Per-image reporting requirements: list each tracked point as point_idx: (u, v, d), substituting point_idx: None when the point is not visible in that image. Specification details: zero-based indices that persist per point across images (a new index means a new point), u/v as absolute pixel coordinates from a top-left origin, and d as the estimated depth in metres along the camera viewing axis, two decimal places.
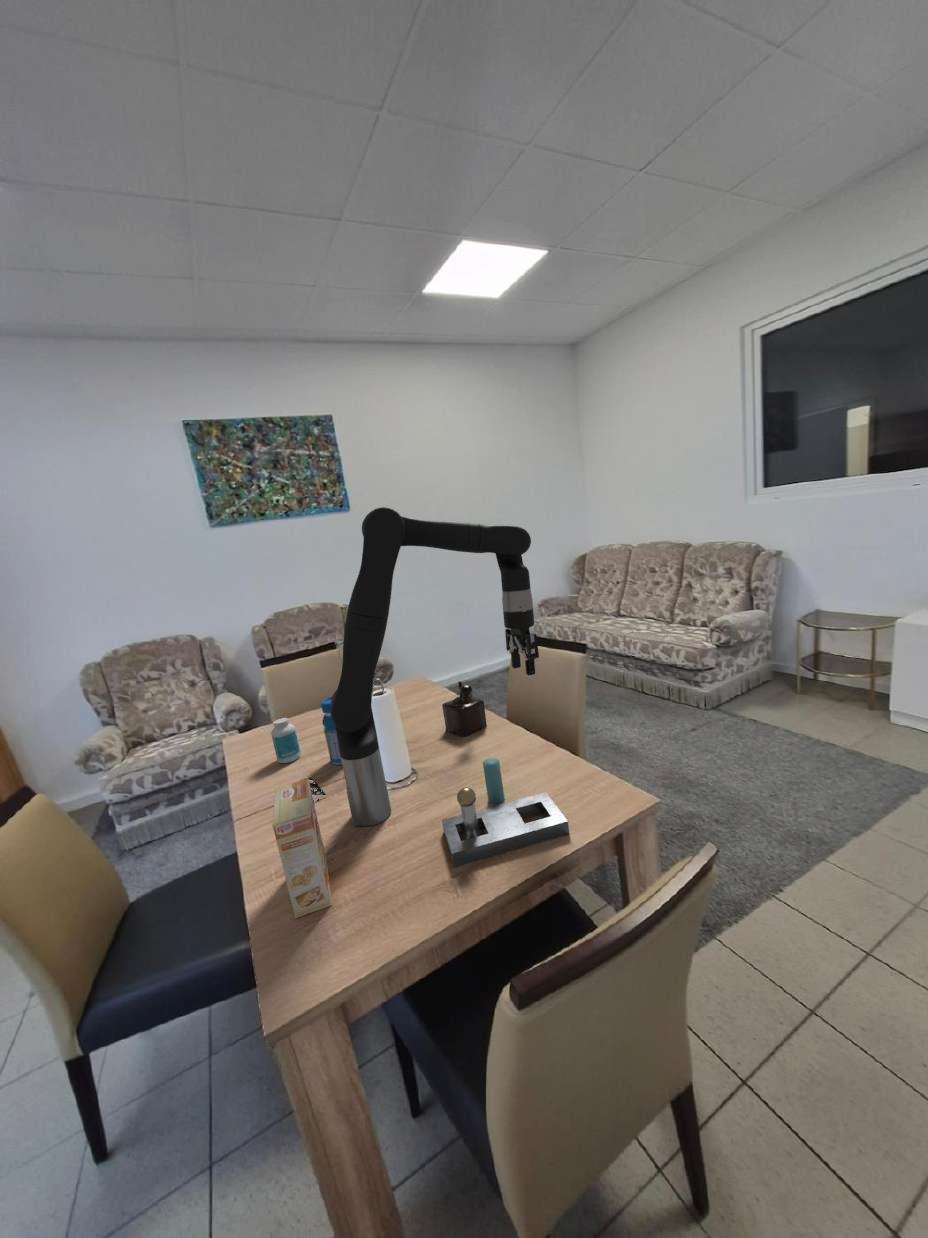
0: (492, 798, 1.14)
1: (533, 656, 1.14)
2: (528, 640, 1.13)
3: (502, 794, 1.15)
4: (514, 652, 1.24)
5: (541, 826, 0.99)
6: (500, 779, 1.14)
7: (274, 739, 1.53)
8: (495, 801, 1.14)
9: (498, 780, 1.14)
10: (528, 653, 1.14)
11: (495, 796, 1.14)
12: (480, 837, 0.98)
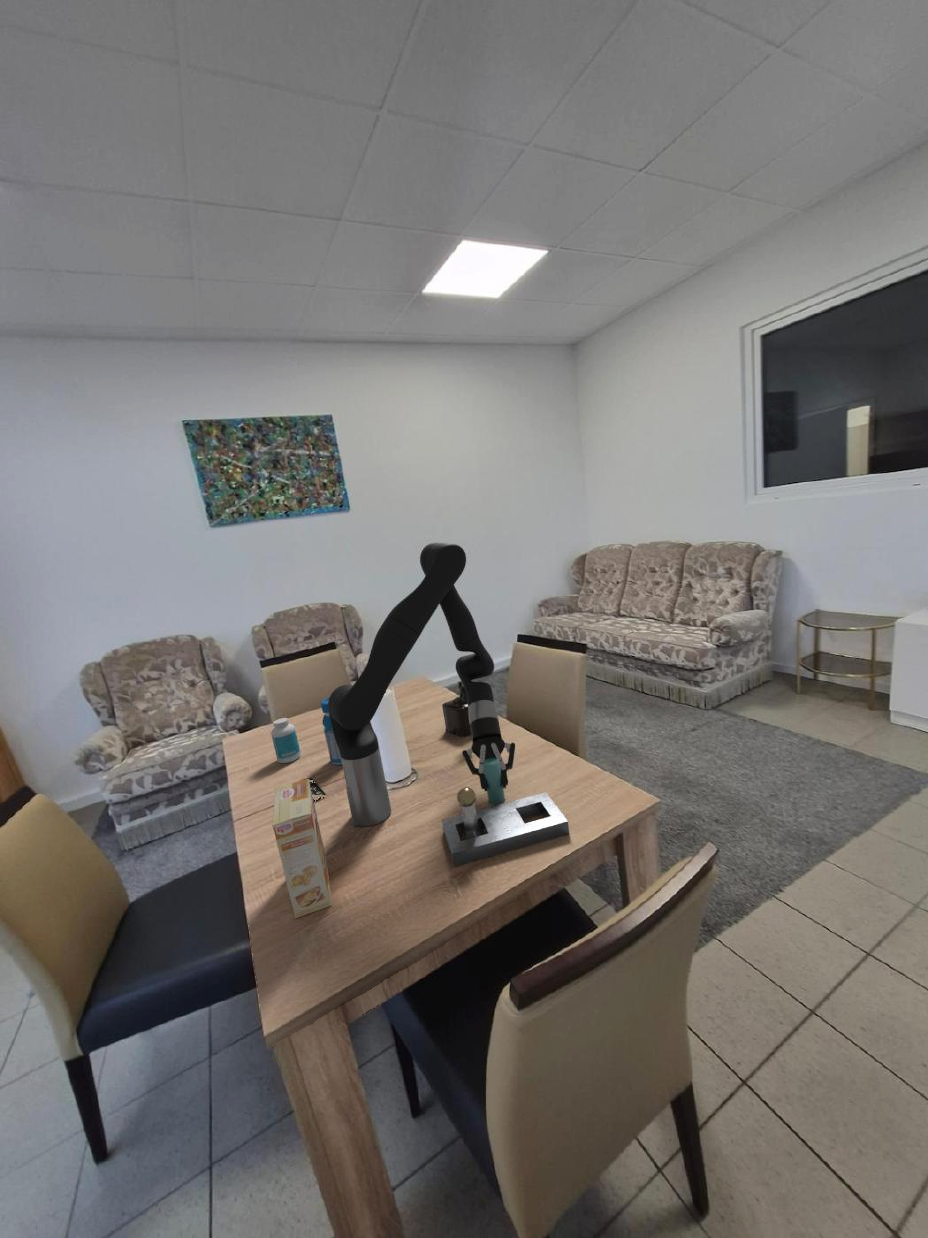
0: (492, 798, 1.14)
1: (512, 764, 1.17)
2: (514, 748, 1.18)
3: (502, 794, 1.15)
4: (483, 771, 1.16)
5: (541, 826, 0.99)
6: (500, 779, 1.14)
7: (274, 739, 1.53)
8: (495, 800, 1.14)
9: (498, 780, 1.14)
10: (510, 760, 1.16)
11: (495, 796, 1.14)
12: (480, 837, 0.98)
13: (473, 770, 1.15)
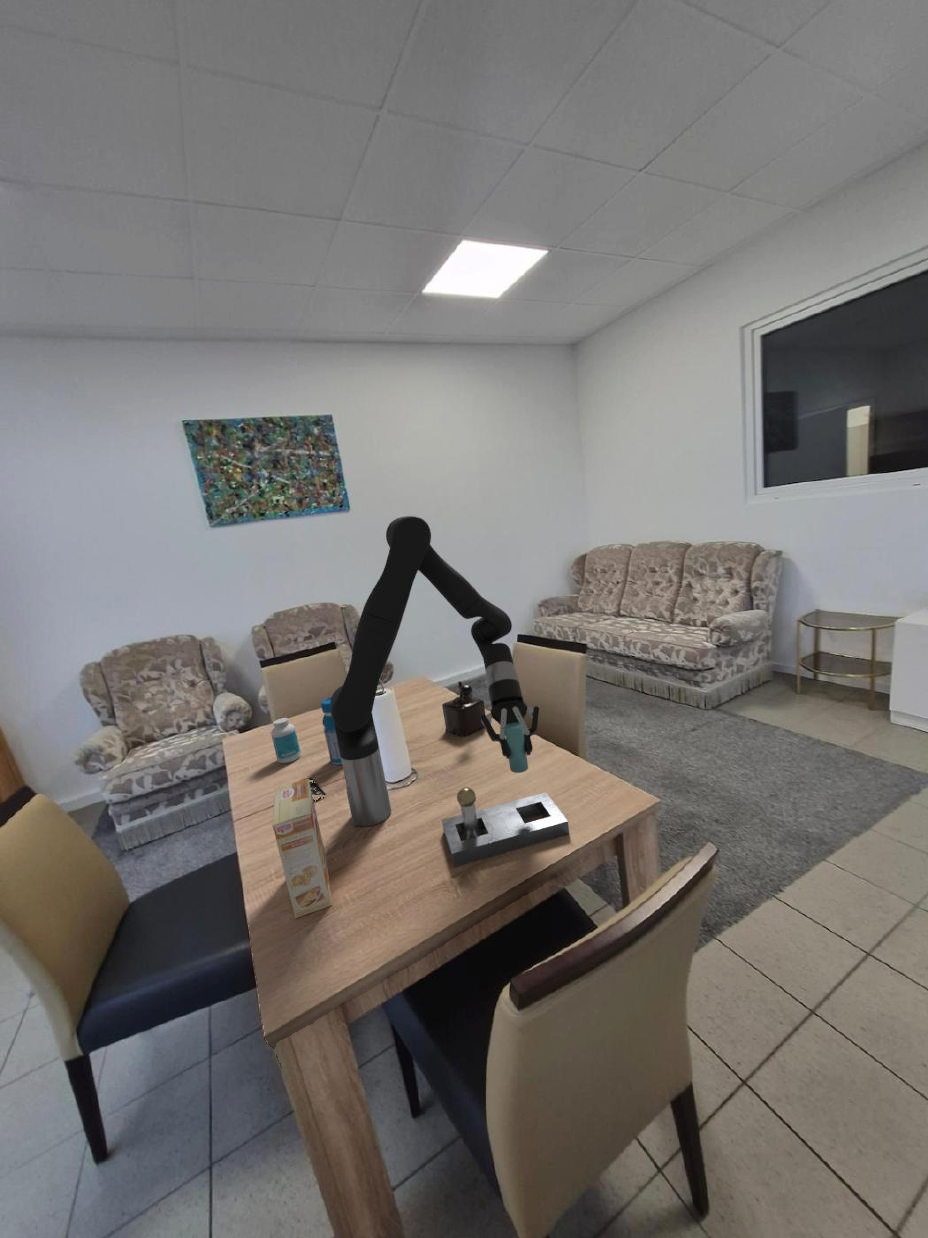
0: (515, 766, 1.04)
1: None
2: (538, 712, 1.07)
3: (526, 761, 1.05)
4: None
5: (541, 826, 0.99)
6: (524, 745, 1.04)
7: (274, 739, 1.53)
8: (518, 769, 1.04)
9: (522, 746, 1.03)
10: (534, 724, 1.06)
11: (518, 763, 1.04)
12: (480, 837, 0.98)
13: (494, 736, 1.05)
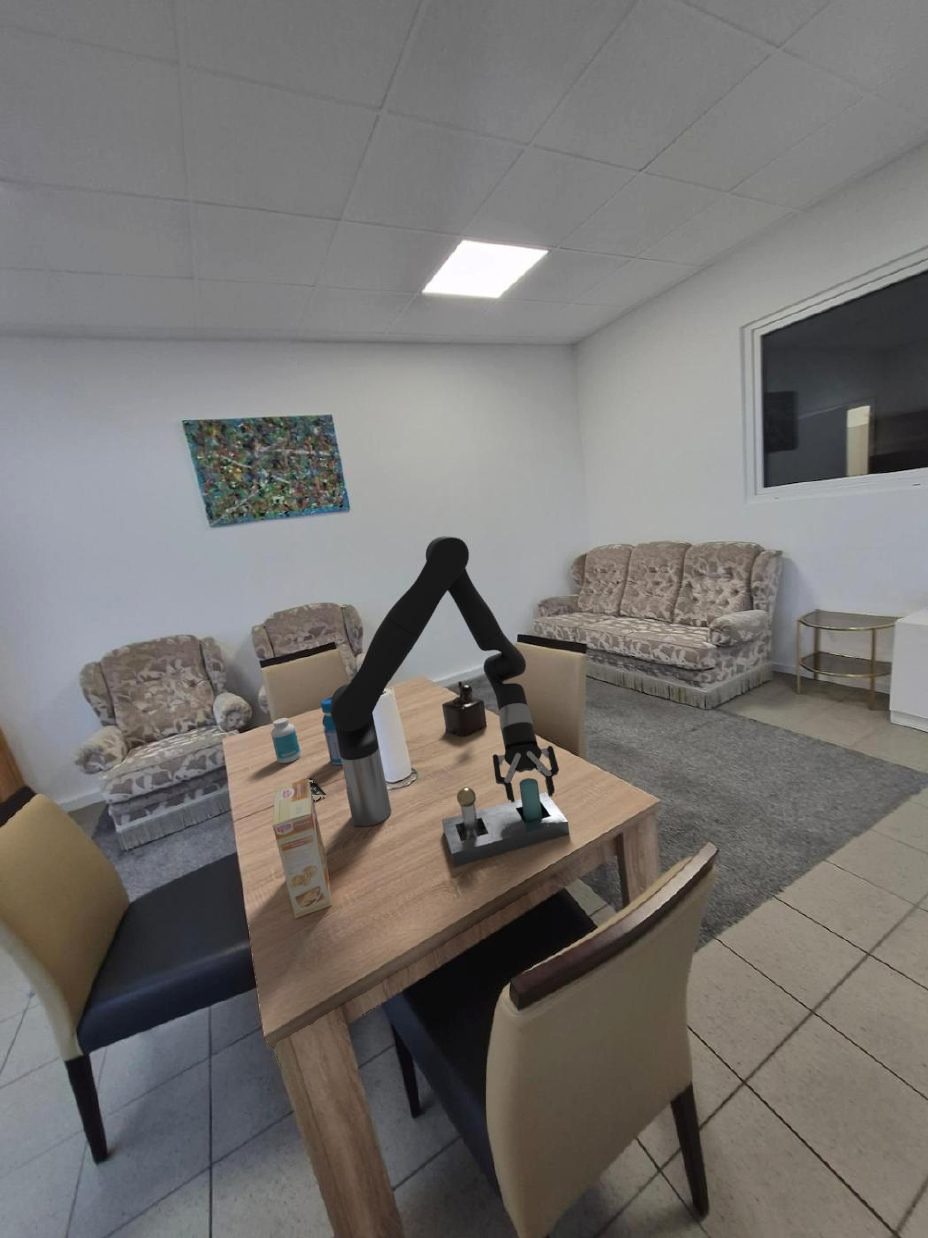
0: None
1: None
2: (553, 751, 1.07)
3: None
4: (509, 781, 1.04)
5: (541, 826, 0.99)
6: (539, 802, 1.03)
7: (274, 739, 1.53)
8: None
9: (537, 804, 1.02)
10: (555, 765, 1.05)
11: None
12: (480, 837, 0.98)
13: (498, 779, 1.04)
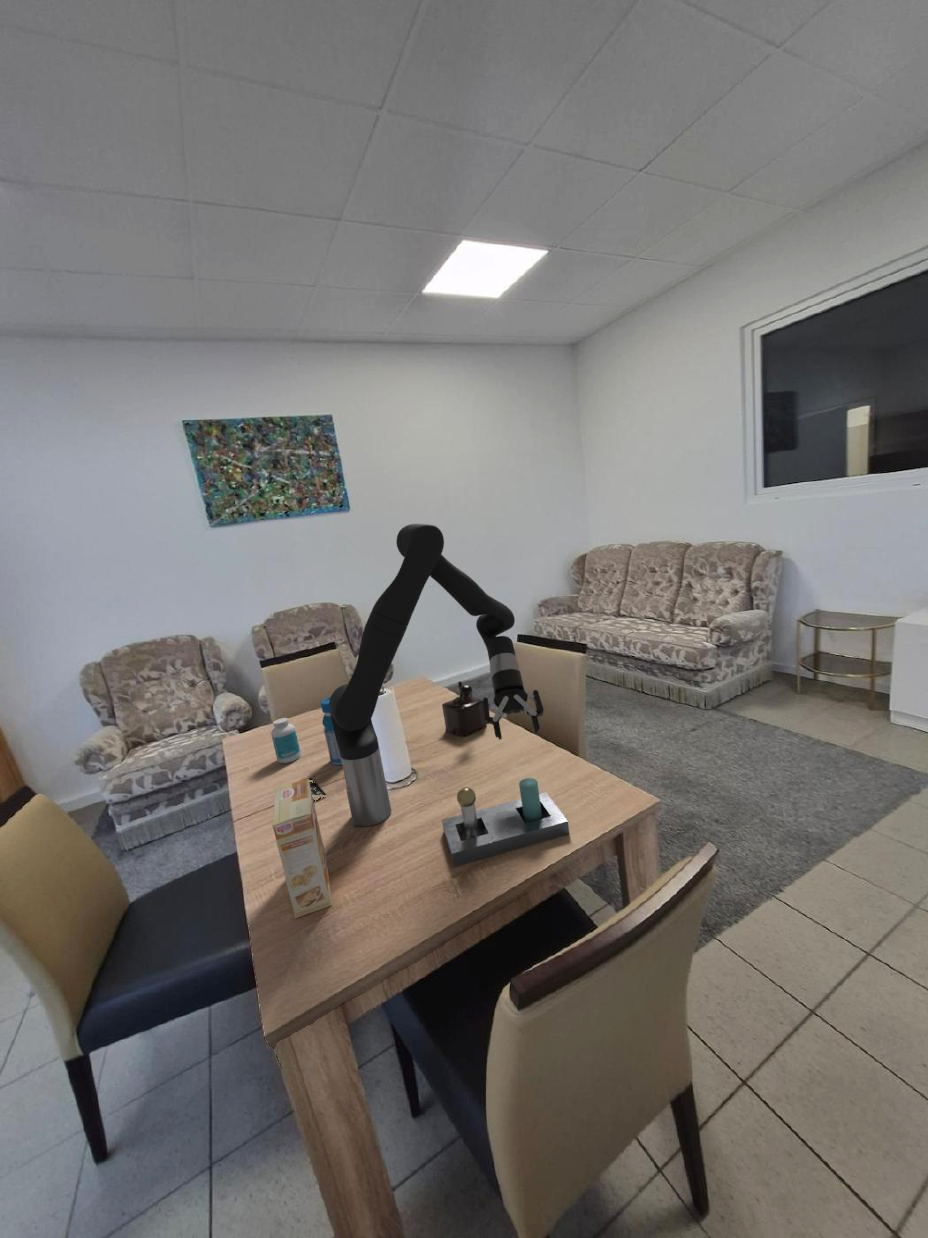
0: None
1: None
2: (538, 694, 1.16)
3: (541, 818, 1.04)
4: (497, 721, 1.14)
5: (541, 826, 0.99)
6: (539, 802, 1.03)
7: (274, 739, 1.53)
8: None
9: (537, 804, 1.02)
10: (540, 706, 1.15)
11: None
12: (480, 837, 0.98)
13: (487, 718, 1.14)
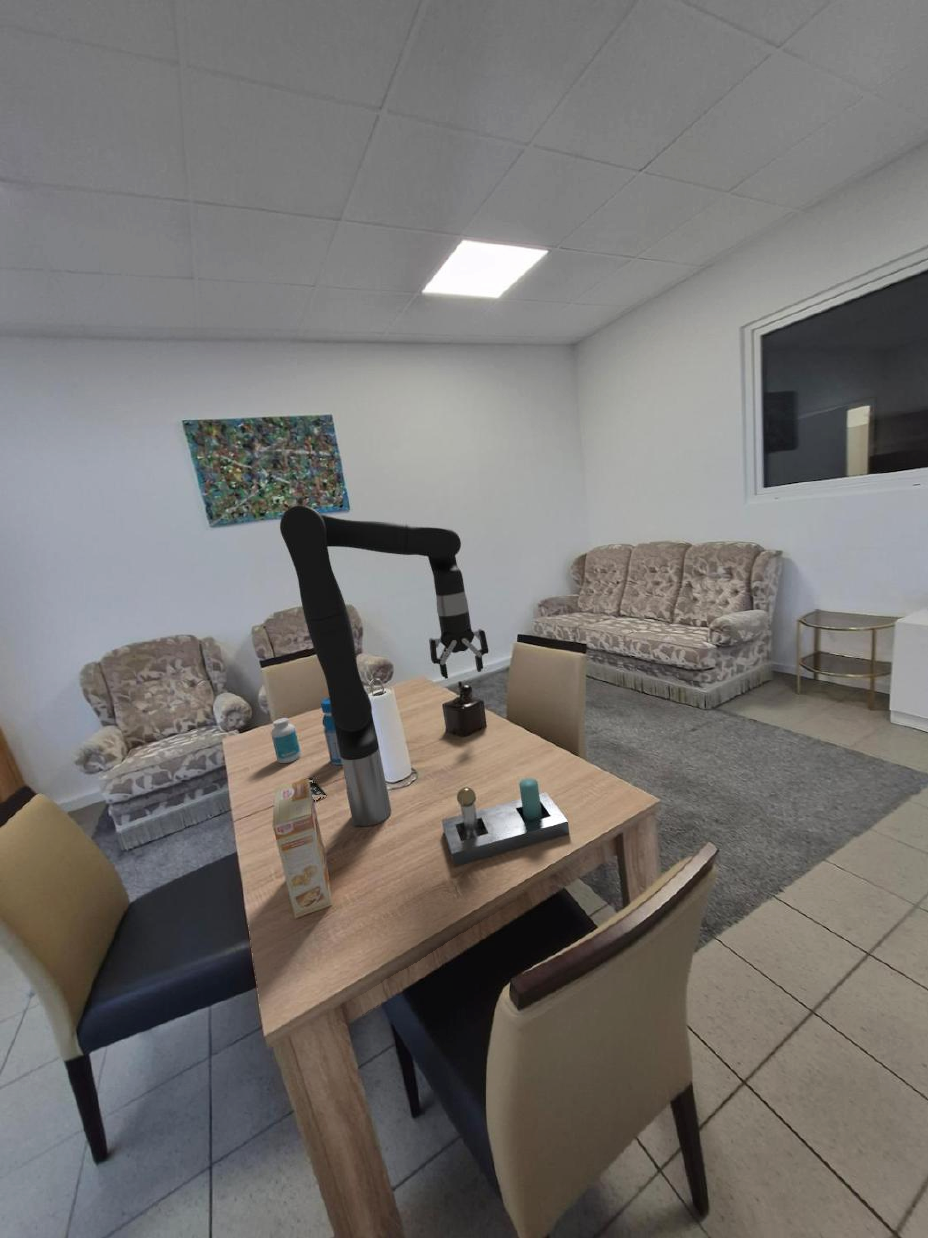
0: None
1: None
2: (484, 635, 1.18)
3: (541, 818, 1.04)
4: None
5: (541, 826, 0.99)
6: (539, 802, 1.03)
7: (274, 739, 1.53)
8: None
9: (537, 804, 1.02)
10: (485, 647, 1.18)
11: None
12: (480, 837, 0.98)
13: (435, 662, 1.16)
